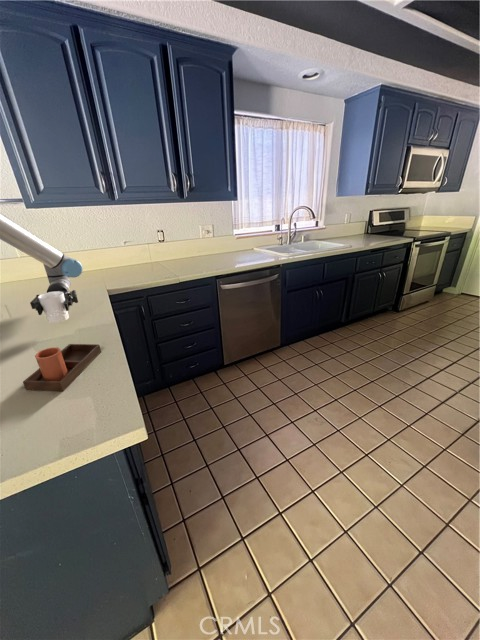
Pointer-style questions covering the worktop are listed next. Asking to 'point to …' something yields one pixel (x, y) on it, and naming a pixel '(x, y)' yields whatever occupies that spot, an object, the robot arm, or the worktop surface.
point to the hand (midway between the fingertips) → (52, 309)
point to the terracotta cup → (51, 364)
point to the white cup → (54, 306)
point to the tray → (75, 363)
